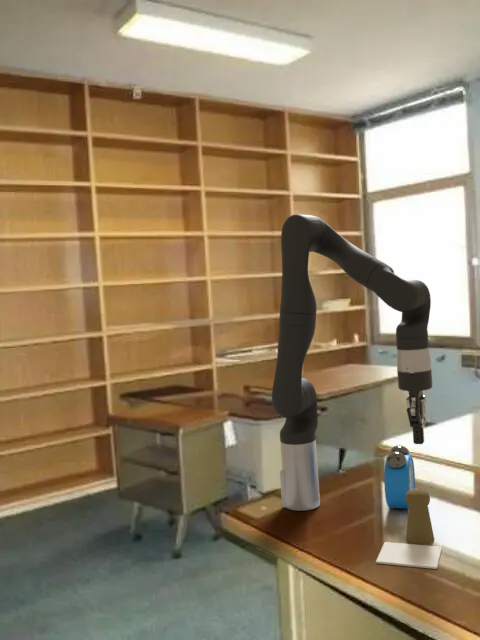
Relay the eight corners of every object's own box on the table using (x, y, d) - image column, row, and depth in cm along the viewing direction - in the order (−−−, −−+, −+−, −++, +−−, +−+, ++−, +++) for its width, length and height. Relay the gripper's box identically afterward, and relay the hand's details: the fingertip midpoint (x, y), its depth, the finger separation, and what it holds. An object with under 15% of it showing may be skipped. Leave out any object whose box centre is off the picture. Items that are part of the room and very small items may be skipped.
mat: (376, 563, 133) (376, 561, 133) (384, 543, 142) (384, 541, 142) (436, 569, 129) (436, 567, 129) (441, 548, 138) (441, 546, 138)
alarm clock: (411, 517, 156) (407, 456, 156) (385, 516, 159) (381, 455, 158) (416, 499, 169) (413, 442, 168) (392, 498, 171) (388, 441, 170)
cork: (430, 546, 139) (427, 496, 139) (402, 542, 142) (399, 493, 142) (437, 536, 144) (434, 487, 144) (410, 532, 148) (407, 484, 147)
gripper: (401, 364, 155) (406, 436, 156) (392, 373, 143) (397, 450, 144) (434, 363, 152) (439, 436, 153) (427, 372, 140) (432, 451, 141)
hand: (418, 443), depth 149 cm, fingers closed
